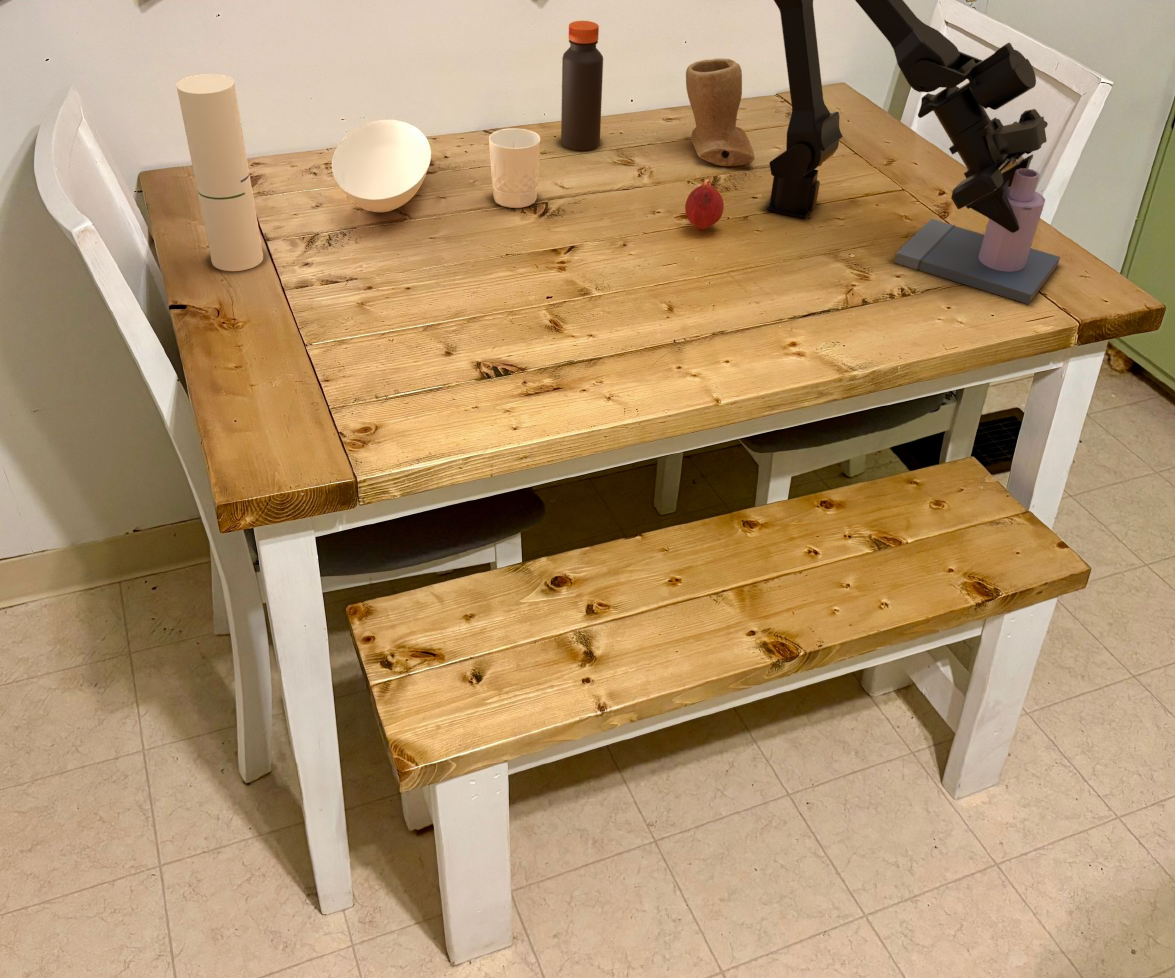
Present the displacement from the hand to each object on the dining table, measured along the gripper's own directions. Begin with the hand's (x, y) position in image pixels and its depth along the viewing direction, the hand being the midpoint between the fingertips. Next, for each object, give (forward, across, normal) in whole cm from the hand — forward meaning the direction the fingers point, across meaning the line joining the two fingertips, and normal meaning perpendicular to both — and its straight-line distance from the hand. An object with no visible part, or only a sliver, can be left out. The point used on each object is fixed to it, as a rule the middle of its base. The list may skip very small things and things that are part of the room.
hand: (1024, 221), depth 159 cm
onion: (-24, -16, +36) cm, 46 cm away
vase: (+4, 0, +6) cm, 7 cm away
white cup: (-44, -25, +57) cm, 76 cm away
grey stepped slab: (+2, 0, +9) cm, 10 cm away
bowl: (-57, -36, +69) cm, 96 cm away
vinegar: (-48, 0, +60) cm, 76 cm away
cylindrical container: (-58, -65, +70) cm, 112 cm away
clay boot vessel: (-33, +12, +45) cm, 58 cm away
